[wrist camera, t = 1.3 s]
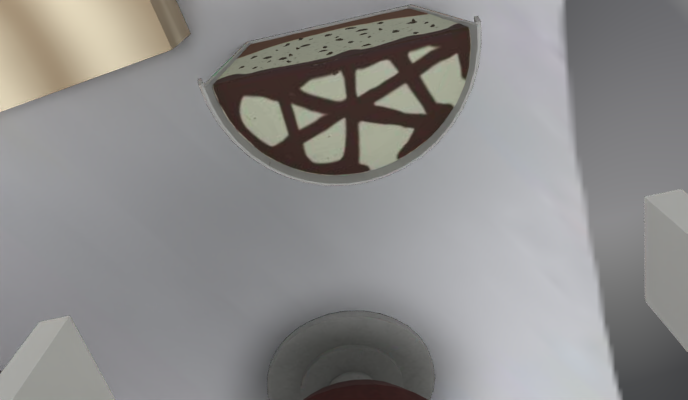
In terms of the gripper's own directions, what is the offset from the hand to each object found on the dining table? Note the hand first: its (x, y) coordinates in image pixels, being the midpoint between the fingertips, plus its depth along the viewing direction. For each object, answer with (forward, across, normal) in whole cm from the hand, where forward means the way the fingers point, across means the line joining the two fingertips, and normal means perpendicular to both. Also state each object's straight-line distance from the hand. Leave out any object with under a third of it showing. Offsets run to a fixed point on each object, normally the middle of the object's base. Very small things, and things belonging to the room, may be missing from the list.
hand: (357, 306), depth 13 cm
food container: (+22, 0, 0) cm, 22 cm away
